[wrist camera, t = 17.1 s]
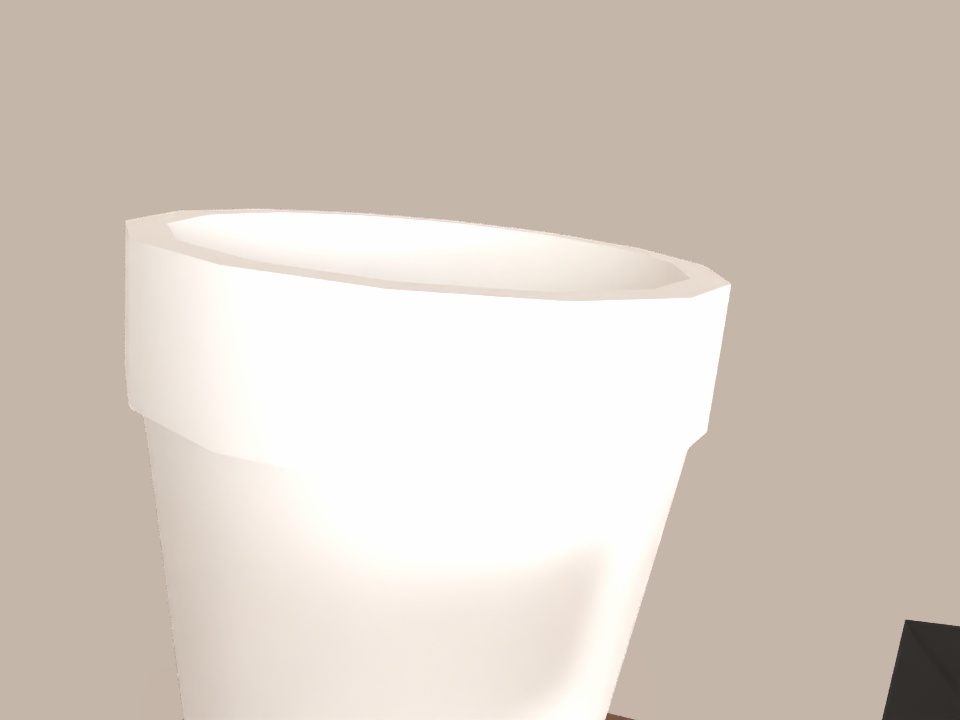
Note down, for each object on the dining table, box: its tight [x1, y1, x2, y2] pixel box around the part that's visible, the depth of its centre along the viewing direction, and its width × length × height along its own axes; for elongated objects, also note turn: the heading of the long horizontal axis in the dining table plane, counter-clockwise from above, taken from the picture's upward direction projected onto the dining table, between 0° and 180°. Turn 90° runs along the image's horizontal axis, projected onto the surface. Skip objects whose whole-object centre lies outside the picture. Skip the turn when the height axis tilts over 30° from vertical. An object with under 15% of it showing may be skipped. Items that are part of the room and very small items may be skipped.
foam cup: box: [125, 209, 731, 720], centre depth 16 cm, size 10×9×13 cm
